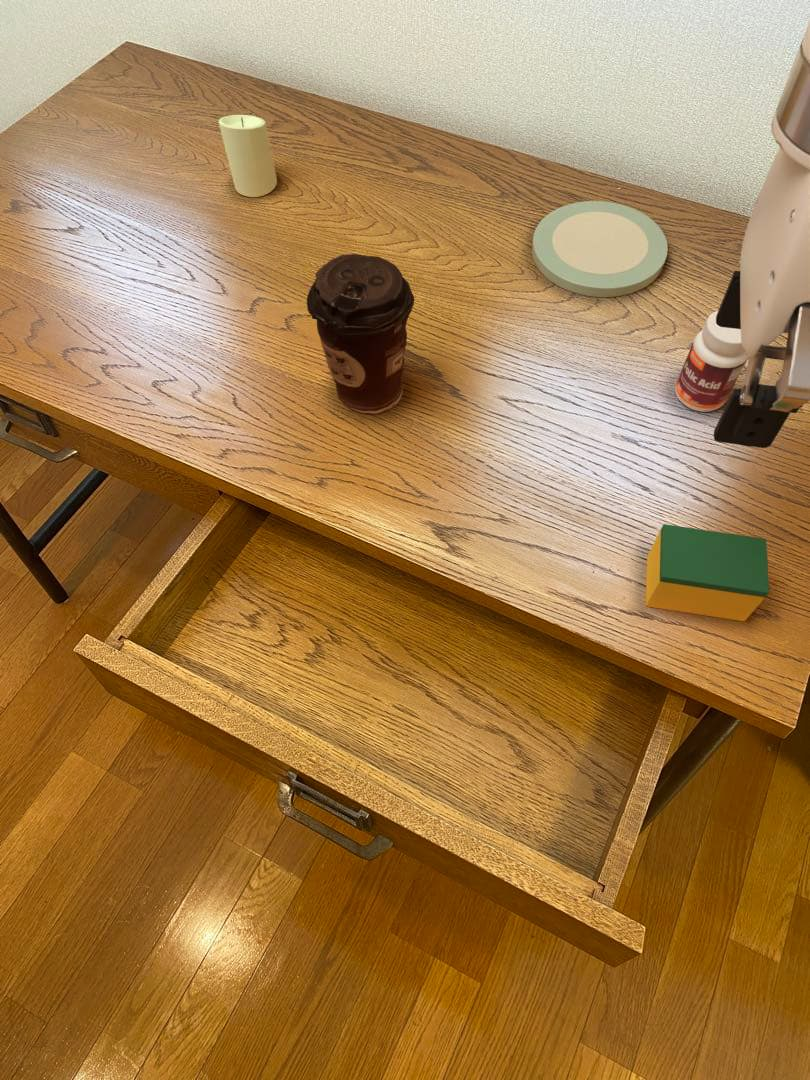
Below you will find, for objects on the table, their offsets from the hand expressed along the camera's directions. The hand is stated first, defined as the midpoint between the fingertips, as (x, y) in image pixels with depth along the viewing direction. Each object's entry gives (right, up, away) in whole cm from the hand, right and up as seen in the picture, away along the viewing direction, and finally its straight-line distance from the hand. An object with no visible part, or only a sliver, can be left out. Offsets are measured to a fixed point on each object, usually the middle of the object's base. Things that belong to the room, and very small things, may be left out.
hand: (739, 380), depth 46 cm
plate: (0, +21, +33) cm, 39 cm away
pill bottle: (+6, +3, +23) cm, 24 cm away
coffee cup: (-24, +4, +24) cm, 35 cm away
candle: (-38, +32, +41) cm, 65 cm away
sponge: (+2, -14, +12) cm, 19 cm away
